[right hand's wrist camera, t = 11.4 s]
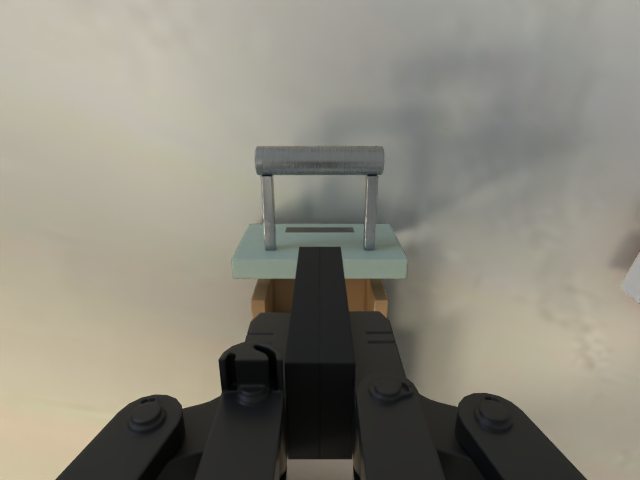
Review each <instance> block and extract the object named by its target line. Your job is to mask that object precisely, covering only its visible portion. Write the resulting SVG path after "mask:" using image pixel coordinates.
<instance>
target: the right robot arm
mask: <svg viewBox="0 0 640 480" xmlns="http://www.w3.org/2000/svg"><path fill="white" fill-rule="evenodd" d="M219 369H220V378H221V387H222V394H221V396H219V397H217V398H216V399H214V400H212V401H209V402H206V403H203V404H200V405H196V406H192V407H188V408H183V409H182V405H181V404H180V403H179V402H178V400H177V399H176V398H173V397H170V396H168V395H151V396H147V397H142V398H140V399H138V400H136V401H134V402H132V403H130V404H128V405H127V406H126V407H124V408H123V409H122V410H121V411H119V412H118V413H117V414H116V415H115V417H114V418H113V419H112V420H111V421H110V422H109V423H108V424H107V425H106V426H105V427H104V428H103V429H102V430H101V432H100V433H99V434H98V435H97V436H96V437H95V438H94V439H93V440H92V441H91V442H90V443H89V444H88V445H87V446H86V448H85V449H84V450H83V451H82V452H81V453H80V454H79V455H78V456H77V457H76V458H75V459H74V460H73V461H72V462H71V464H70V465H69V466H68V467H67V468H66V469H65V470H64V471H63V472H62V473H61V474H60V475H59V476H58V477H57V479H56V480H287V457H288V459H352V455H353V480H587V479H586V478H585V477H584V476H583V475H582V474H581V473H580V472H579V471H578V470H577V469H576V467H575V466H574V465H573V464H572V463H571V462H570V461H569V460H568V459H567V458H566V457H565V456H564V455H563V454H562V453H561V452H560V450H559V449H558V448H557V447H556V446H555V445H554V444H553V443H552V442H551V441H550V440H549V439H548V438H547V437H546V436H545V435H544V434H543V432H542V431H541V430H540V429H539V428H538V427H537V426H536V425H535V424H534V423H533V422H532V421H531V420H530V419H529V418H528V417H527V415H526V414H525V413H524V412H523V411H522V410H521V409H519V408H518V407H517V406H516V405H514V404H513V403H512V402H510V401H508V400H506V399H504V398H502V397H500V396H496V395H492V394H488V393H473V394H471V395H468V396H466V397H464V398H463V399H462V400H461V401H460V403H459V405H458V407H455V406H451V405H447V404H443V403H439V402H436V401H433V400H430V399H428V398H426V397H424V396H422V395H420V394H419V393H418V391H417V389H416V387H415V386H414V384H413V383H412V382H411V381H409V380H408V379H407V378H406V376H405V372H404V369H403V365H402V362H401V359H400V355H399V352H398V348H397V345H396V343H395V338H394V335H393V331H392V328H391V325H390V321H389V320H388V319H387V318H386V317H385V316H384V315H383V314H382V313H381V312H380V311H349V307H348V299H347V291H346V284H345V276H344V268H343V260H342V252H341V247H299V252H298V260H297V268H296V276H295V284H294V291H293V299H292V307H291V312H260V313H259V314H258V315H257V316H256V317H255V318H254V319H253V320H252V321H251V323H250V326H249V330H248V333H247V336H246V340H245V342H243V343H240V344H237V345H235V346H232V347H231V348H229V349H228V350H226V351H225V352H224V353H223V354H222V356H221V357H220V358H219Z"/></svg>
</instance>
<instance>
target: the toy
mask: <svg viewBox="0 0 640 480" xmlns="http://www.w3.org/2000/svg"><path fill="white" fill-rule="evenodd" d="M619 288H620V289H621V290H622V291H624V292H625V293H626V294H627V295H629V296H630V297H631V298H632V299H634V300H635V301H636V302H638V303H640V252H639V254H638V255H637V257H636V259H635V261H634V262H633V264H632V266H631V267H630V269H629V271H628V273H627V274H626V276H625V278H624V279H623V281H622V283H621V284H620V286H619Z"/></svg>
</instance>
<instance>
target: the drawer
mask: <svg viewBox="0 0 640 480" xmlns="http://www.w3.org/2000/svg"><path fill="white" fill-rule="evenodd" d="M255 168H256V173H257V175H262V176H261V186H262V205H263V224H249V226H248V228H247V230H246V232H245V234H244V236H243V238H242V240H241V242H240V244H239V246H238V248H237V250H236V252H235V254H234V256H233V258H232V260H231V261H232V273H233V278H234V279H258V281H257V284H256V287H255V290H254V293H253V296H252V299H251V307H252V320H253V319H254V318H255V317H256V316H257V315H258V314H259V313H260V312H291V307H292V299H293V291H294V284H295V276H296V268H297V260H298V252H299V247H341V252H342V260H343V268H344V276H345V284H346V291H347V299H348V307H349V311H380V312H381V313H382V314H383V315H384V316H385V317H386V318H387V312H388V298H387V295H386V292H385V289H384V286H383V283H382V280H381V279H405V278H406V277H407V265H408V259H407V257H406V255H405V253H404V251H403V249H402V247H401V245H400V243H399V241H398V239H397V237H396V235H395V233H394V231H393V229H392V227H391V225H390V224H376V210H377V190H378V175H382V173H383V169H384V149H383V147H382V146H257V147H256V150H255ZM273 175H366V186H365V212H364V224H275V204H274V180H273Z"/></svg>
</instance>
